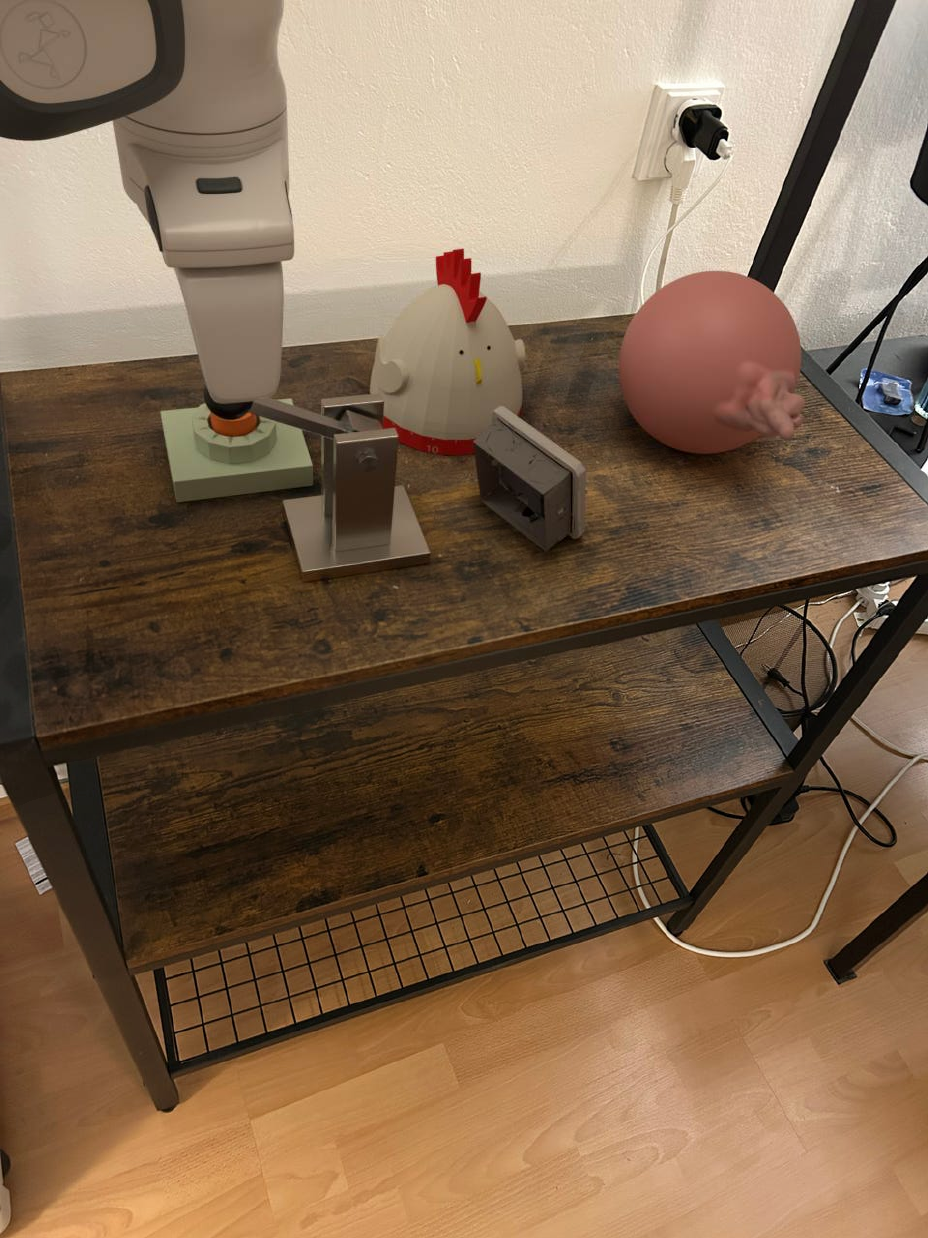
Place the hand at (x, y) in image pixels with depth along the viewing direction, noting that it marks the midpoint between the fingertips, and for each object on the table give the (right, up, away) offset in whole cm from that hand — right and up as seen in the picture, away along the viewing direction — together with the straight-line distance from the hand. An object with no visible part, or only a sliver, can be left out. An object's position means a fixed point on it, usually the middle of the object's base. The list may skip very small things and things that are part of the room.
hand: (225, 372), depth 62 cm
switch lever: (+3, -3, +5) cm, 7 cm away
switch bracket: (+7, -9, +15) cm, 19 cm away
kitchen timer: (+13, +4, +27) cm, 31 cm away
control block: (-4, -2, +19) cm, 20 cm away
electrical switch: (+20, -8, +18) cm, 28 cm away
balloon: (+36, 0, +27) cm, 45 cm away
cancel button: (-3, 0, +17) cm, 17 cm away
